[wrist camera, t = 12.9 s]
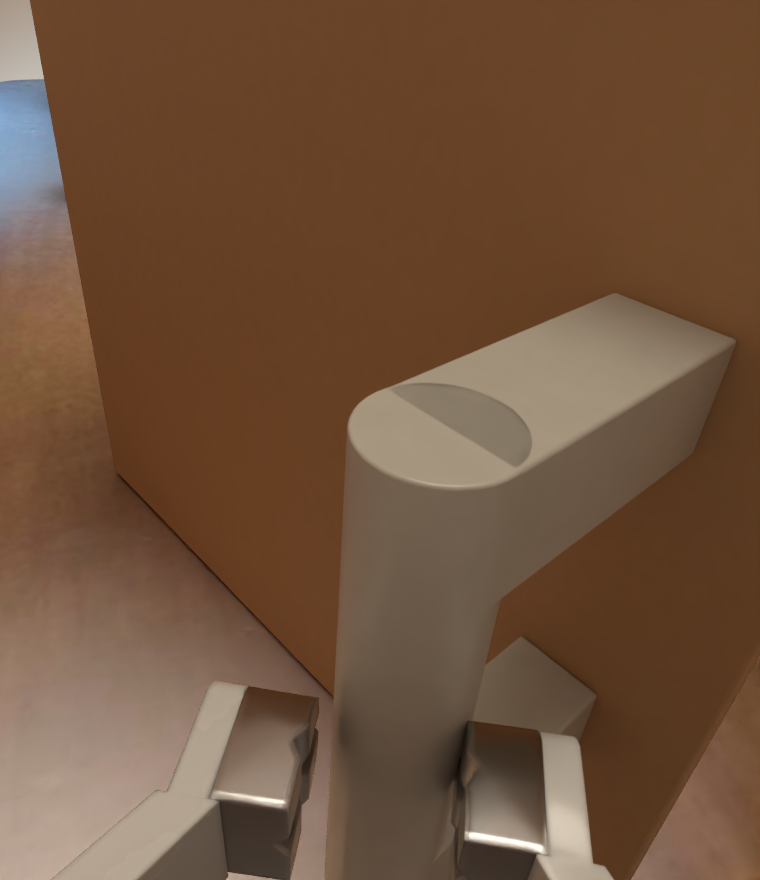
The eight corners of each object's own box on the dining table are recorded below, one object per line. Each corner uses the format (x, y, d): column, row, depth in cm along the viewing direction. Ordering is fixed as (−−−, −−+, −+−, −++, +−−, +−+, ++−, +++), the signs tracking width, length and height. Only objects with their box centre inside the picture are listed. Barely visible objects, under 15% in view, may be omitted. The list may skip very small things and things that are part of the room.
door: (418, 1179, 15) (1713, -1771, 1) (-22, 523, 30) (-285, -255, 16) (603, 927, 19) (1374, -411, 5) (134, 462, 34) (28, -200, 20)
